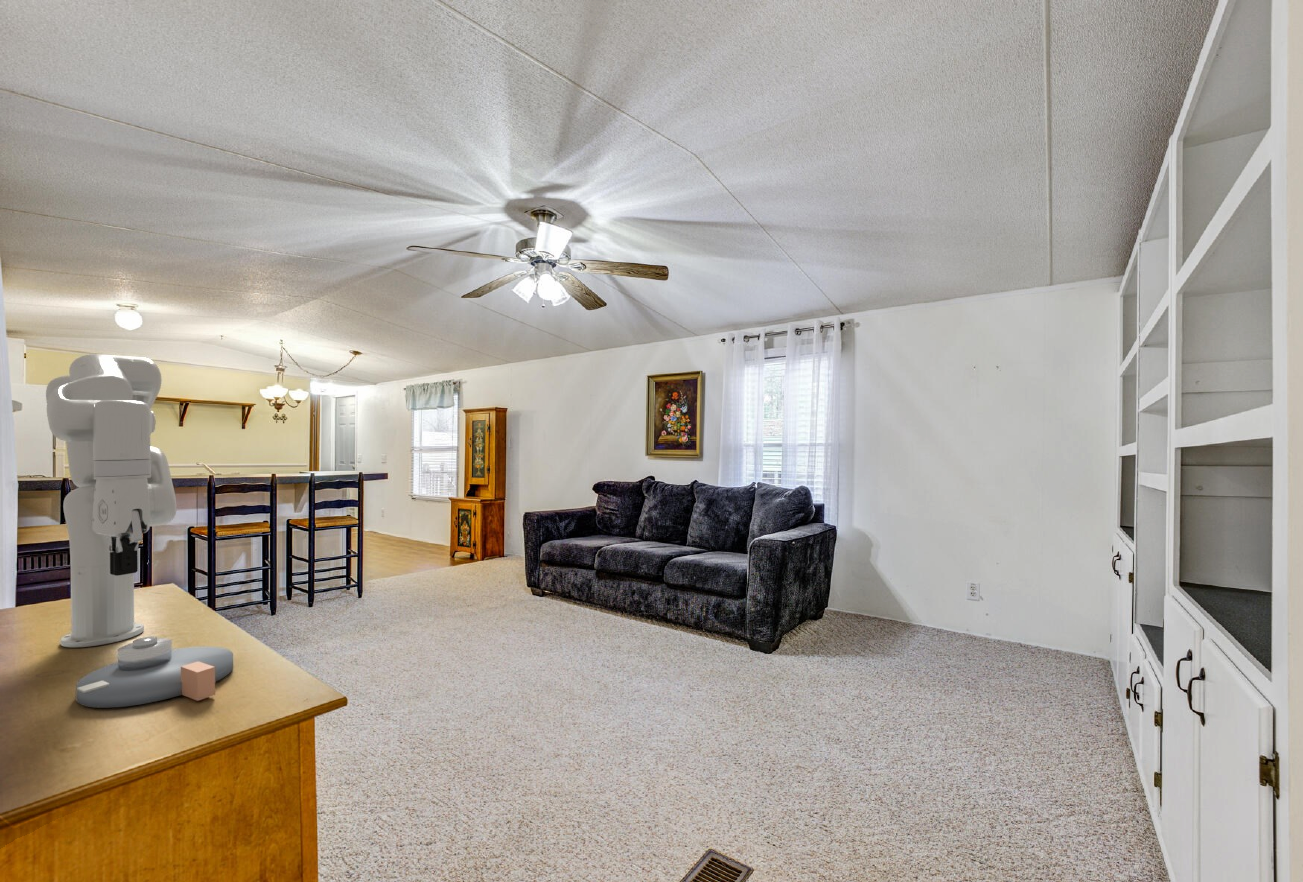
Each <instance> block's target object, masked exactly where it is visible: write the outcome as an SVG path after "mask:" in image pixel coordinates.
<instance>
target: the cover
mask: <svg viewBox="0 0 1303 882" xmlns="http://www.w3.org/2000/svg"><path fill="white" fill-rule="evenodd" d="M172 643H173V641H172V639H170V638H165V637H163V638H158V636H144V637H140V638H137V639H134V640H133V641H132V642H131V643H128V644H125V645H123V646H120V647H119V648H118V649H117V662H118V670H121V671H135V670H142V669H147V668H152V667H155V666H159V665H161V664H164V663H166V662H168V661H170V660H171V659H172V649H173V648H172V646H173V645H172Z"/></svg>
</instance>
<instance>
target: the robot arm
mask: <svg viewBox="0 0 1303 882" xmlns="http://www.w3.org/2000/svg"><path fill="white" fill-rule="evenodd" d="M68 368H69V371H68V372H69V374H68V375H62V376H58V377H55V378H53V379H52V380H50V381H49V383H47V385H46V390H45V401H46V417H47V421H48V426H49V429H50V431H51V433H52V435H53V436H54V437H55V438H56V439H58V440H60V441H63V442H65V444H66V453H67V463H68V469H69V475H70V480H71V481H72V482H73V485H74V486H76V487H77V488H76V489H73V490H71V491H70V492H68V494H67V495H66V496H65V497H64V500H63V505H62V507H63V513H64V515H63V516H64V519H65V523H66V528H67V533H68V540H69V555H70V614H71V615H70V623H71V625H70V627H71V628H70V629H71V632H70V633H68V634H66V635H64V636H62V637H61V638H60V641H59V642H60V643H59V644H60V646H62V647H65V648H72V649H73V648H86V647H87V648H88V647H89V648H90V647H95V646H102V645H107V644H112V643H116V642H121V641H124V640H128V639H131V638H134V637H136V636H138V635H140V634H141V633H143V632H144V631H145V625H144V624H143V623H142V622H141V623H140V622H135V575H134V574H135V573H137V572H138V569H139V568H138V567H139V566H138V550H139V543H140V542H142V541H143V538H144V537H143V534H146V533H147V532H148V531H149V530H150V527H158V526H163V525H166V524H168V523H170V522H171V521H173V519H174V518H175V517H176V513H177V507H178V506H177V499H176V493H175V489H174V484H173V480H172V474H171V471H170V467H169V461H168V459H167V456H166V453H164V451H163V450H161V449H160V448H158V447H155V446H151V435H152V434H153V433H154V432H155V430H156V424H157V423H156V421H157V420H156V414H155V411H153V410H151V409H152V408H153V405H154V403H155V401H156V399H157V397H158V395H159V393H160V391H161V388H162V387H161V386H162V373H161V370H160V368H159V366H158V364H156V363H155V362H154V361H153V360H151V359H149V358H147V357H141V356H130V355H127V356H126V355H113V354H106V353H105V354H103V353H94V354H91V353H90V354H85V355H81V356H80V357H79V356H78V357H76V359H74V360H73V361H72V362H71V364H70V366H69V367H68Z"/></svg>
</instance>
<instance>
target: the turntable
mask: <svg viewBox="0 0 1303 882" xmlns="http://www.w3.org/2000/svg"><path fill="white" fill-rule="evenodd" d="M233 669H234V653H233V652H232V650H230V649H228V648H225V647H219V646H190V647H179V648H172V659H171V660H170V661H168V662H166V663H164V664H161V665H159V666H155V667H152V668H147V669H142V670H135V671H121V670H118V661H116V662H113V663H110V664H108V665H105V666H102V667H100V668H98V669H95V670H93V671H91V672H89V673H88V674H86V675H84V676H83V677H81V678H80V679H79V680H78V681H77V683H76V684H75V688H76V690H75V691H76V692H75V693H76V696H75V697H76V698H75V699H76V702H77V703H78V704H80V705H82V706H84V707H89V708H98V709H99V708H103V709H105V708H106V709H108V708H121V707H123V708H124V707H130V706H138V705H145V704H149V703H150V704H151V703H153V702H154V703H155V702H158V701H162V700H168V699H172V698H175V697H180V696H184V697H187V698H189V699H192V700H194V701H202V700H204V699H207V698H210V697H212V696H215V695H216V682H218V681H220V680H222V679H223V678H225V677H226V676H228V675H229V674H230V673H231V672H232V670H233Z"/></svg>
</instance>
